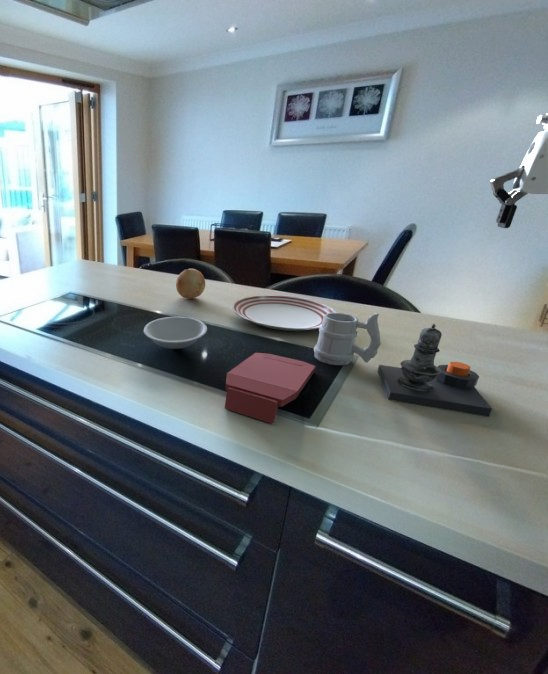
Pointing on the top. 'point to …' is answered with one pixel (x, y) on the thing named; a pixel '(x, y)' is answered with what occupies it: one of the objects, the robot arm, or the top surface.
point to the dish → (175, 331)
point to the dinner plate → (282, 312)
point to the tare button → (458, 369)
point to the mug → (345, 339)
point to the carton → (265, 384)
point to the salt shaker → (422, 362)
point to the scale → (437, 391)
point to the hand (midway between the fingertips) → (538, 227)
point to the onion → (190, 283)
